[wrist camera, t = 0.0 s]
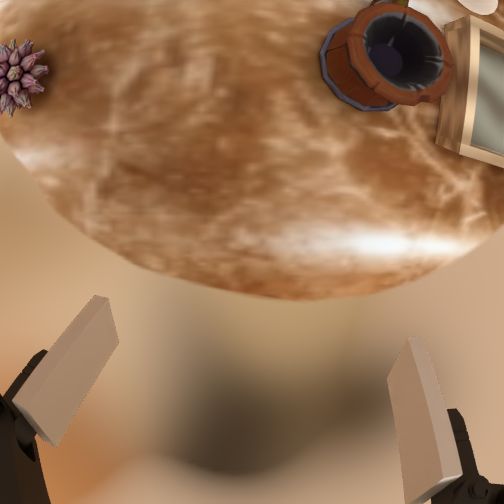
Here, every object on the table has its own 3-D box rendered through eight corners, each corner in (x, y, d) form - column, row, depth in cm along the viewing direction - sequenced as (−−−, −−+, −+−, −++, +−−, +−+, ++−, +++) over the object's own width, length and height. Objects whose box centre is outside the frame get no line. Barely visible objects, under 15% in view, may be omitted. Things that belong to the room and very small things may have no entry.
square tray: (445, 24, 25) (470, 14, 19) (531, 64, 24) (560, 65, 18) (434, 143, 32) (459, 154, 26) (518, 169, 31) (546, 184, 25)
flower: (56, 116, 37) (-2, 132, 27) (10, 105, 37) (-43, 118, 26) (74, 42, 32) (15, 38, 21) (24, 39, 31) (-31, 40, 21)
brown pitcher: (329, -33, 24) (342, -94, 11) (421, -8, 24) (477, -46, 10) (311, 100, 33) (320, 101, 20) (405, 122, 32) (464, 142, 19)
